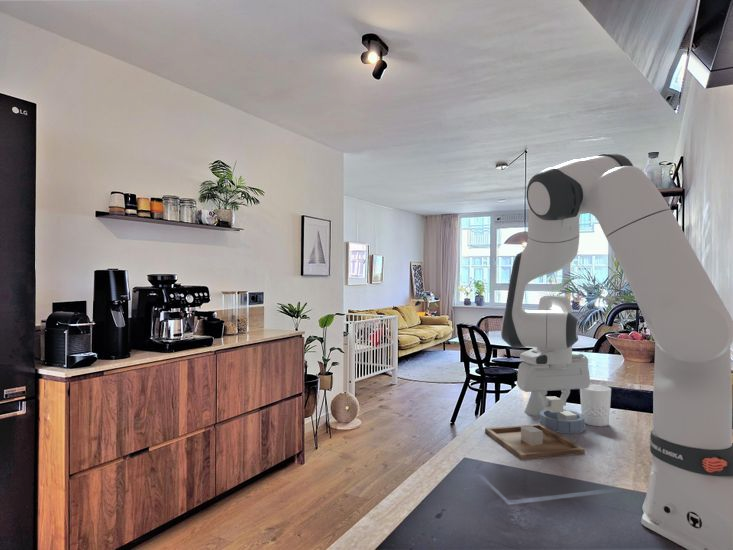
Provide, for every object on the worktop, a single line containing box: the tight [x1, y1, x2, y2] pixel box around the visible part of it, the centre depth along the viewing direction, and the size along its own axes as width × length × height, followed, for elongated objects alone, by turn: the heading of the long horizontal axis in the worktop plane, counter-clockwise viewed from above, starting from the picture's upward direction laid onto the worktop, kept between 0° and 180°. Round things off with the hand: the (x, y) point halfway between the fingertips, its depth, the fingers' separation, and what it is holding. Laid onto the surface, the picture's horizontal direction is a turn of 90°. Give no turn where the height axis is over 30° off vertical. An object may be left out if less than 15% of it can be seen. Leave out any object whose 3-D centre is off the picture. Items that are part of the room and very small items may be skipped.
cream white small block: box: [521, 426, 543, 446], centre depth 113 cm, size 4×3×3 cm
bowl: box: [539, 408, 585, 434], centre depth 125 cm, size 11×11×4 cm
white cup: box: [579, 383, 612, 427], centre depth 130 cm, size 8×8×10 cm
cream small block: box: [544, 395, 564, 413], centre depth 125 cm, size 4×3×3 cm
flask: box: [524, 391, 545, 417], centre depth 137 cm, size 7×7×10 cm
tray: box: [484, 423, 586, 461], centre depth 114 cm, size 18×16×2 cm
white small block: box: [557, 409, 577, 420], centre depth 126 cm, size 4×3×3 cm
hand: (553, 405), depth 125 cm, fingers closed on cream small block, 3 cm apart
